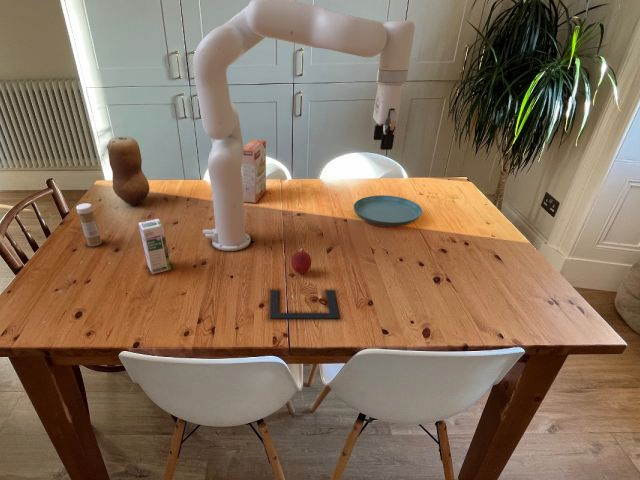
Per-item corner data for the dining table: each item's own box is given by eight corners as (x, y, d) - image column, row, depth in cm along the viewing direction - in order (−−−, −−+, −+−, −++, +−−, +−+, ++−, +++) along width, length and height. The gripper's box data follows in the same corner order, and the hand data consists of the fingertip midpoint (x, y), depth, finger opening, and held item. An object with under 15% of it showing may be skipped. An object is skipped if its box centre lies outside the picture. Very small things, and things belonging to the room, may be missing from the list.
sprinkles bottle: (101, 239, 137) (91, 201, 129) (102, 245, 133) (91, 207, 125) (87, 242, 135) (75, 203, 128) (87, 248, 132) (75, 209, 124)
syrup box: (152, 275, 118) (142, 229, 110) (147, 265, 123) (137, 221, 114) (171, 270, 120) (163, 225, 112) (166, 261, 125) (158, 217, 116)
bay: (270, 318, 101) (270, 318, 101) (271, 291, 111) (271, 290, 111) (339, 319, 101) (339, 318, 101) (333, 291, 111) (333, 290, 111)
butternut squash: (158, 202, 162) (146, 137, 148) (128, 212, 154) (113, 145, 140) (138, 193, 170) (125, 131, 156) (109, 203, 162) (93, 138, 148)
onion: (309, 279, 115) (310, 255, 111) (289, 277, 116) (289, 253, 112) (312, 268, 120) (313, 245, 116) (292, 267, 121) (293, 243, 117)
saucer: (389, 198, 163) (391, 190, 161) (435, 221, 145) (437, 213, 143) (339, 210, 154) (340, 202, 152) (381, 236, 136) (383, 227, 134)
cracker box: (257, 203, 160) (255, 149, 148) (242, 202, 161) (239, 148, 149) (267, 191, 171) (266, 139, 159) (253, 189, 172) (251, 138, 161)
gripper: (371, 72, 113) (363, 136, 123) (384, 82, 99) (374, 153, 109) (398, 72, 113) (388, 136, 123) (415, 82, 99) (403, 153, 109)
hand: (382, 144), depth 116 cm, fingers open, 9 cm apart
